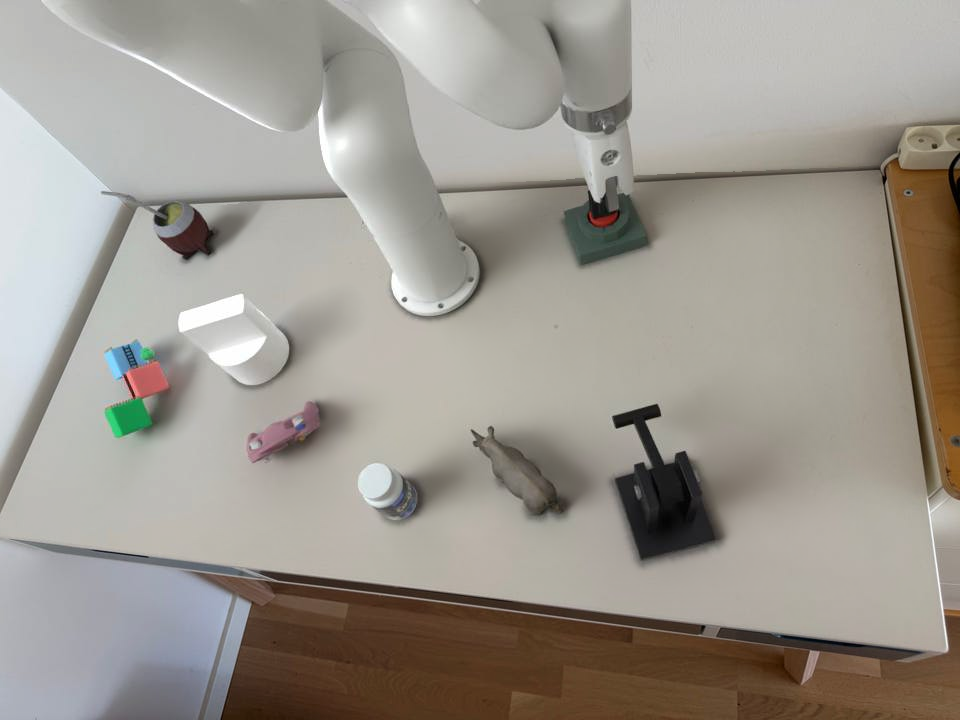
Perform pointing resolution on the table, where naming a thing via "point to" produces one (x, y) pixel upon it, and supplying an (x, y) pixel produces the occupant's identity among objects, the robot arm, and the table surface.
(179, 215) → the mate gourd
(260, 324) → the white rounded block
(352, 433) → the table surface
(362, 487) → the pill bottle
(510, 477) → the rhino figurine
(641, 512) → the bracket
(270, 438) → the pink toy car
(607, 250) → the button block
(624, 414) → the lever
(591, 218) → the button
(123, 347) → the building blocks
